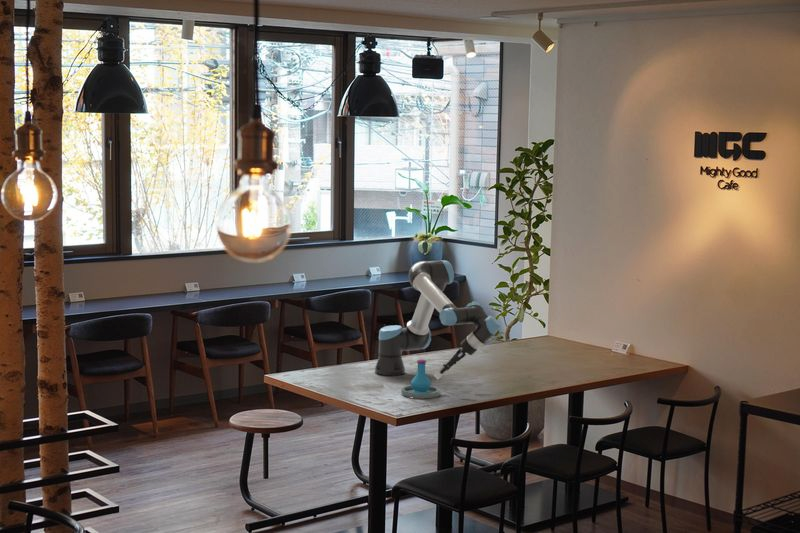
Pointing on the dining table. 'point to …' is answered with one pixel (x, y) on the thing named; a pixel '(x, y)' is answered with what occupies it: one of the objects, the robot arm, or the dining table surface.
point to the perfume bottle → (421, 379)
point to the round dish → (431, 393)
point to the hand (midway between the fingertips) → (438, 374)
